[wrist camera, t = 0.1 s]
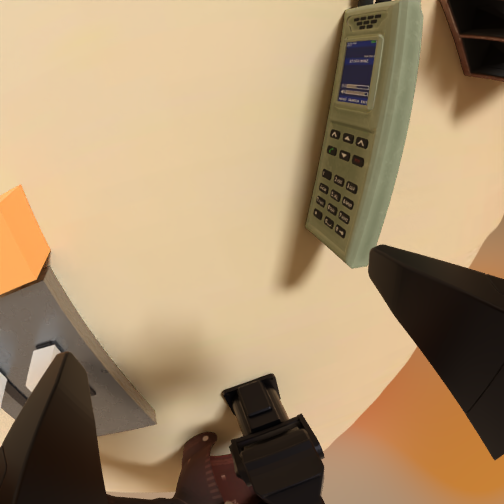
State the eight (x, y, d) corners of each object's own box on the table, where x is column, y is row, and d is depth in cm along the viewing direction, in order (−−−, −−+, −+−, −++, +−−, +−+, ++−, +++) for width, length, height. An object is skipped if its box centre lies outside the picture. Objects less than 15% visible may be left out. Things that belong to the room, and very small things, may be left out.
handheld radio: (297, 228, 26) (343, -44, 14) (328, 228, 27) (373, -28, 15) (342, 269, 20) (399, -64, 9) (375, 266, 21) (430, -41, 10)
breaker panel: (154, 410, 32) (157, 426, 30) (46, 430, 29) (45, 444, 27) (49, 266, 20) (42, 282, 18) (-63, 317, 17) (-71, 331, 15)
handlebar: (309, 444, 52) (350, 520, 36) (263, 470, 54) (296, 542, 37) (107, 387, 28) (129, 566, 11) (64, 426, 29) (74, 562, 13)
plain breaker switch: (70, 363, 22) (66, 399, 19) (49, 369, 21) (44, 403, 18) (54, 344, 20) (47, 381, 17) (33, 350, 20) (25, 386, 17)
